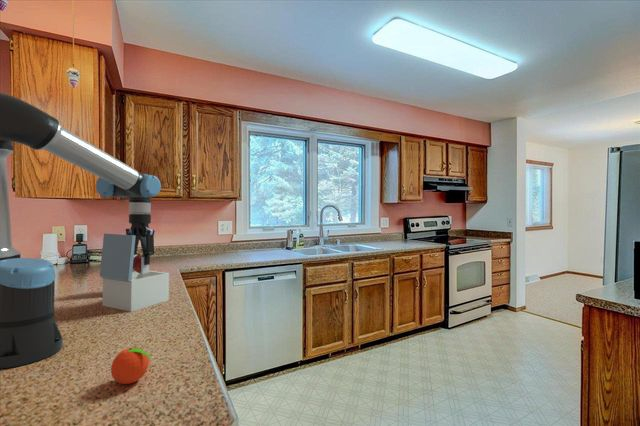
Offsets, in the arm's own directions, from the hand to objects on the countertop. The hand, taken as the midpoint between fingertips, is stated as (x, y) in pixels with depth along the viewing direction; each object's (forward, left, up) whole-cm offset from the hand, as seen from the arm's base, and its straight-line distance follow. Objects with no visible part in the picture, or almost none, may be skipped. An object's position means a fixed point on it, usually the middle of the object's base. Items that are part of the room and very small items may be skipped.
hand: (139, 272), depth 125 cm
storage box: (-1, 0, -12) cm, 12 cm away
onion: (0, 0, -1) cm, 1 cm away
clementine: (-40, -52, -12) cm, 67 cm away
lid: (-8, 0, +7) cm, 11 cm away
